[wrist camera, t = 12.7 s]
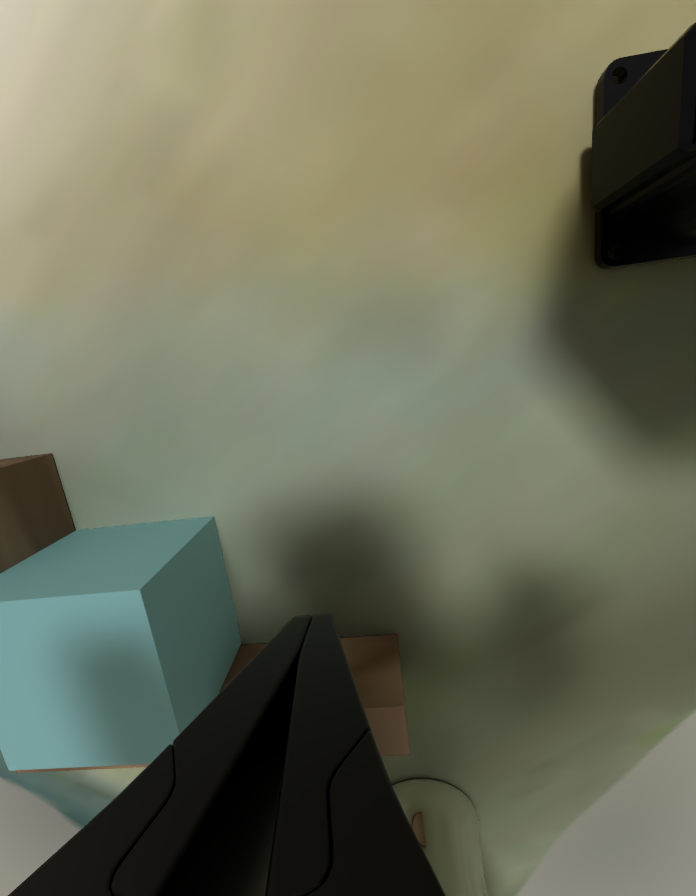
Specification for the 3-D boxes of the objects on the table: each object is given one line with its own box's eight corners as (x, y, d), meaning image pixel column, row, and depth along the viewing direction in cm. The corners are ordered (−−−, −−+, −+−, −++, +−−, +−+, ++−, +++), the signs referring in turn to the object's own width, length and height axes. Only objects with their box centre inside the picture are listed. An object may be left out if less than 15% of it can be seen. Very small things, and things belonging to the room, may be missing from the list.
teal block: (215, 515, 18) (139, 589, 12) (242, 641, 19) (187, 762, 13) (78, 529, 18) (-58, 606, 12) (115, 650, 20) (8, 770, 14)
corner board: (372, 415, 16) (373, 431, 12) (401, 674, 19) (410, 754, 15) (4, 459, 17) (-100, 486, 14) (83, 694, 20) (15, 773, 16)
